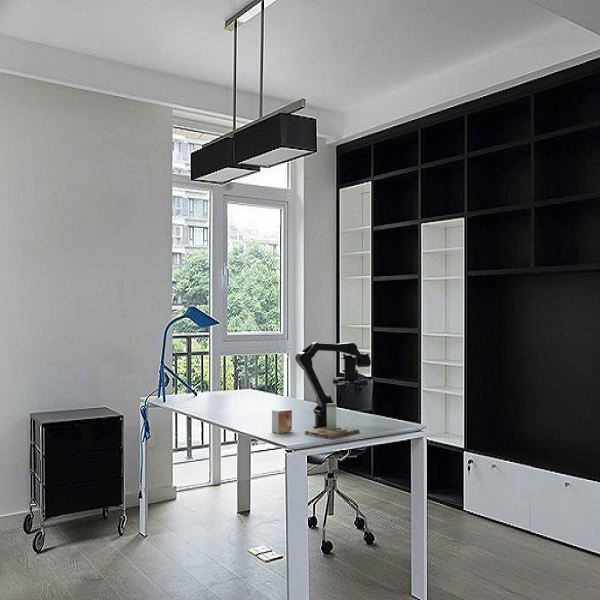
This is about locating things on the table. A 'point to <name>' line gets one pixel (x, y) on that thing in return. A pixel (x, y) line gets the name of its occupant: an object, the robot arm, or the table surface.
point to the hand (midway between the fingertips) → (350, 399)
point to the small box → (281, 420)
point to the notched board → (332, 432)
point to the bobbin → (331, 417)
